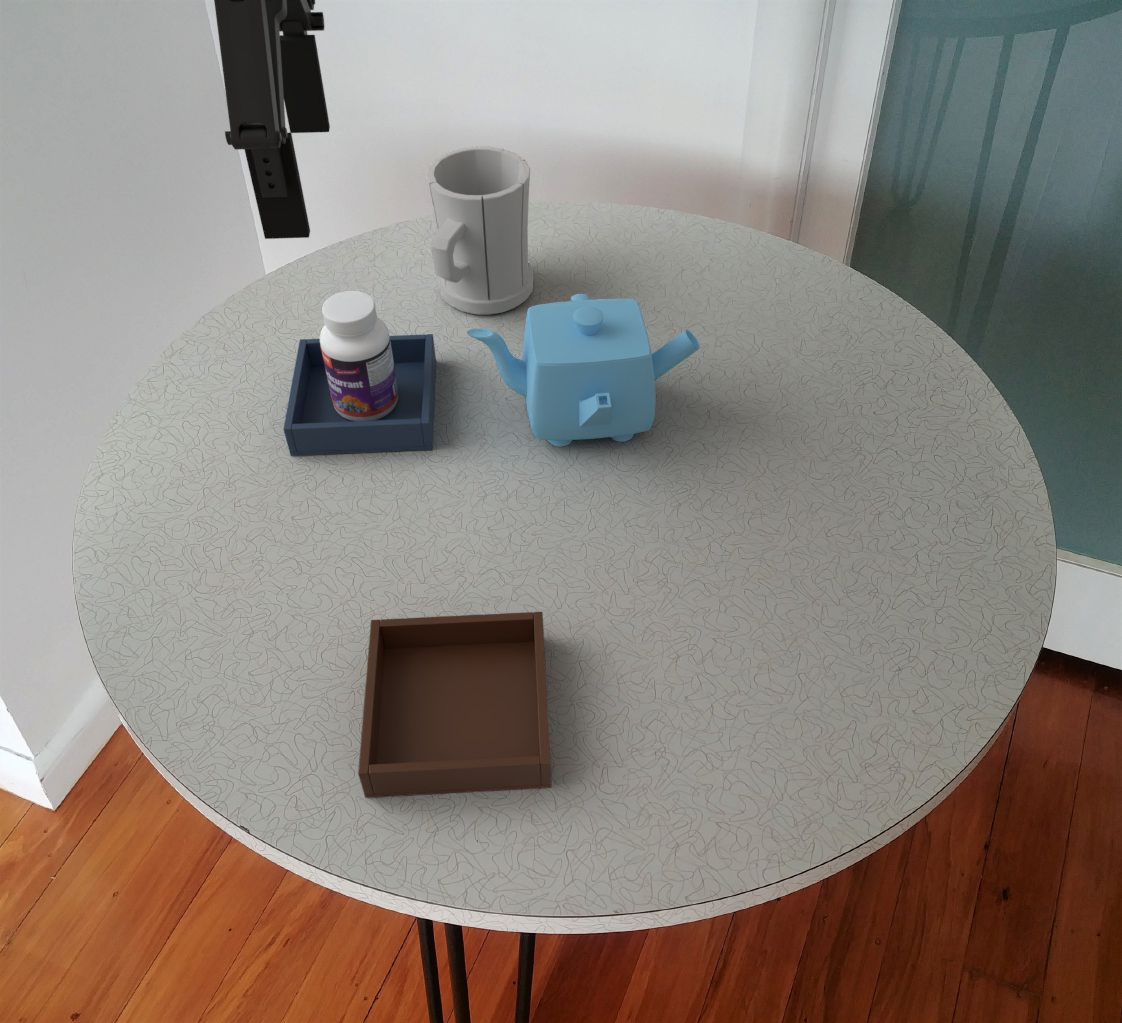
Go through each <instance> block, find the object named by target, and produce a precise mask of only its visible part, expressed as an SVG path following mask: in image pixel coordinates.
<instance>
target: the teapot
mask: <svg viewBox="0 0 1122 1023" xmlns="http://www.w3.org/2000/svg"><path fill="white" fill-rule="evenodd" d="M640 306H641V305H640V304H639V302H638V300H637V299H634V298H596V299H590V296H589V295H588V294H586V293H576V294H573V295H571V296H570V300H568V301H558V302H547V303H542V304H536V305H532V306H530V307H528V308H527V313H526V318H525V325H524V331H523V332H524V333H523V339H522V340H523V342H522V343H523V344H522V359H521V358H518V357H515V356H514V355H513V354H512V353H511V351H510V350H509V347H508V345H507V343H506V341H505V340H504V338H503V337H502V336H501V335H500V334H499V333H497V332H496V331H493V330H492V329H487V328H471V329H468V330H467V331H466V334H467V335H468V336H469V337H471V338H473V339H476V340H477V341H480V342H482V343H483V344H485V346H487V348H488V349H489V350H490V352H491V354H492V356H493V359H494V361H495V364H496V367H497V370H498V373H499V375H500V378H501V379H502V381H503V382H504V383H505V385H506V386H507V387H508V388H509V389H511V391H513V392H515V393H516V394H518V395H522V396H523V397H524V398H525V403H526V410H527V415H528V420H529V425H530V427H531V431H532V434H533V436H534V438H535V439H537V440H541V441H548V443H550V445H552V446H555V447H561V448H562V447H566V446H569V445H570V444H571V443H572V442H573V441H574V440H577V441H578V440H591V439H592V440H594V439H605V438H610V439H612V440H613V441H616V442H621V443H622V442H623V443H624V442H627V441H630V440H632V439H633V437H634V436H635V434H640V433H644V432H647V431H650V430H651V428H652V426H653V424H654V420H655V417H656V400H657V399H656V398H657V397H656V396H657V395H656V381H657V380H658V379H659V378H661V377H662V376H663V375H665V374H667V373H668V372H670V371H671V370H672V369H674V368H675V367H677V366H678V365H679V364H680V363H682V362H683V361H686V359H688V358H689V357H690V356H692V355H694V354H695V353H696V352H697V351H699V350H700V349H701V345H700V343H699V341H698V339H697V337H696V336H695V335H694V334H693V332H691V331H690V330H689V329H687V328H686V329H684V330H683V331H682V332H680V333H679V334H678V335H677V336H675V337H673V338H672V339H671V340H670V341H668V342H667V343H665V344H664V345H662V346H661V347H660V348H658V349H657V350H655V351H654V352H652V349H651V344H650V339H649V335H648V331H647V328H646V324H645V320H644V317H643V312H642V310H641V307H640Z"/></svg>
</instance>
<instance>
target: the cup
mask: <svg viewBox="0 0 1122 1023" xmlns="http://www.w3.org/2000/svg"><path fill="white" fill-rule="evenodd" d="M425 178H426V183H427V188H428V193H429V198H430V203H431V208H432V212H433V214H432V215H433V219H434V224H435V230H436V231H435V232H434V234H432V237H431V241H430V245H429V247H430V252H431V257H432V263H433V268H434V273H435V275H436V277H438V278H437V282H438V290H439V293H440V295H441V298H442V299H443V300H444V301H445V302H446V303H447V304H448V305H449V306H450V307H452V308H455V309H457V310H459V311H461V312H463V313H466V314H472V315H476V316H477V315H478V316H479V315H480V316H481V315H482V316H483V315H484V316H485V315H486V316H492V315H497V314H501V313H502V314H503V313H505V312H509V311H510V310H513V309H515V308H517V307H518V306H520V305H521V304H522V303H524V302H526V300H528V299H529V297H530V296H531V294H532V292H533V291H534V270H533V268H532V266H531V265H530V262H529V236H528V235H529V232H528V231H529V229H528V227H529V198H530V182H531V181H530V180H531V167H530V165H529V164H528V162H527V161H526V159H525V158H523V157H522V156H521V155H519V154H518V153H516V152H514V151H511V150H509V149H506V148H501V147H496V146H490V145H489V146H487V145H485V146H484V145H483V146H481V145H479V146H478V145H476V146H468V147H462V148H457V149H454V150H451V151H448V152H446V153H444V154H442V155H441V156H439V157H437V158H435V159H434V160H433V162H431V164H430V165H429V166H428V167H427V171H426V175H425Z"/></svg>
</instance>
